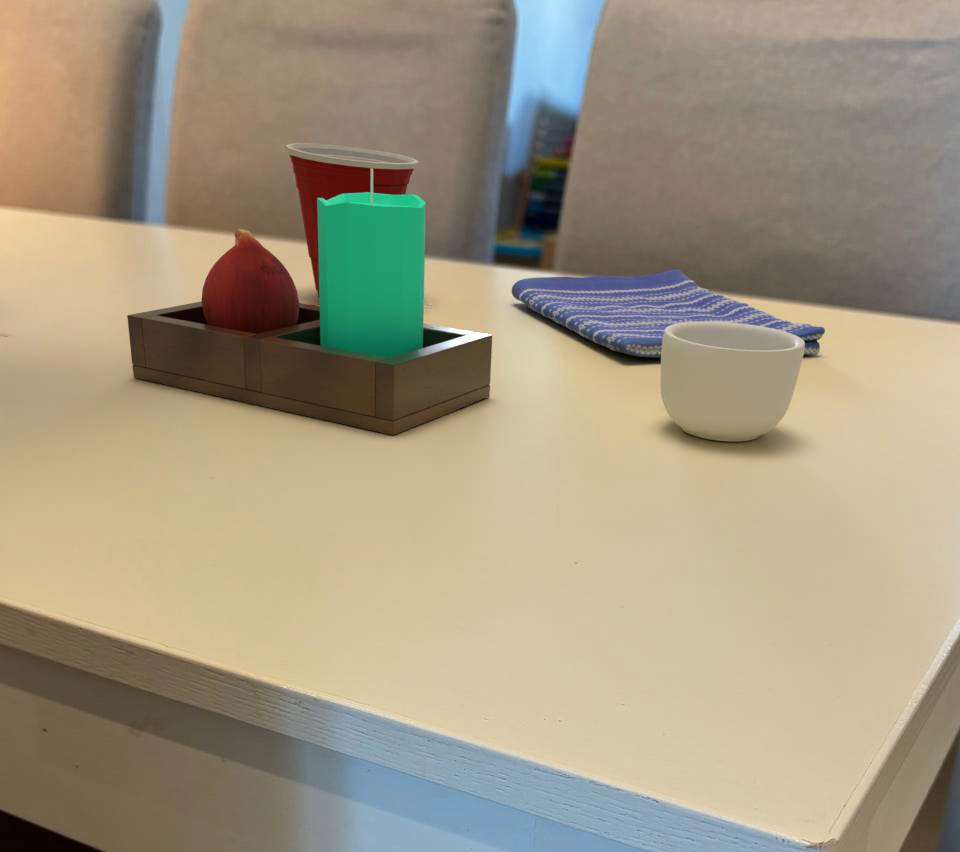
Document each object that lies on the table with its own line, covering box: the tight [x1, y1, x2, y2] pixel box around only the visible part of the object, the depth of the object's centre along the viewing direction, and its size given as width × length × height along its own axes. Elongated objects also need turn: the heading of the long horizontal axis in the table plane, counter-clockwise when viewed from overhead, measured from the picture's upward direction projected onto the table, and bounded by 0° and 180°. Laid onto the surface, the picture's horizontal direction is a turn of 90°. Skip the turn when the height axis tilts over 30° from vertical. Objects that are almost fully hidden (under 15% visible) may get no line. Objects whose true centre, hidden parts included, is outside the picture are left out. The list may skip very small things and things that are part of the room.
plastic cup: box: [285, 142, 420, 298], centre depth 93 cm, size 11×11×12 cm
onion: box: [201, 228, 300, 334], centre depth 68 cm, size 6×6×8 cm
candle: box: [317, 169, 427, 359], centre depth 63 cm, size 6×6×12 cm
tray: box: [126, 300, 493, 436], centre depth 67 cm, size 20×10×4 cm, turn 59°
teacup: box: [659, 322, 805, 442], centre depth 63 cm, size 10×8×5 cm
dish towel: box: [511, 269, 826, 358], centre depth 89 cm, size 17×24×3 cm
